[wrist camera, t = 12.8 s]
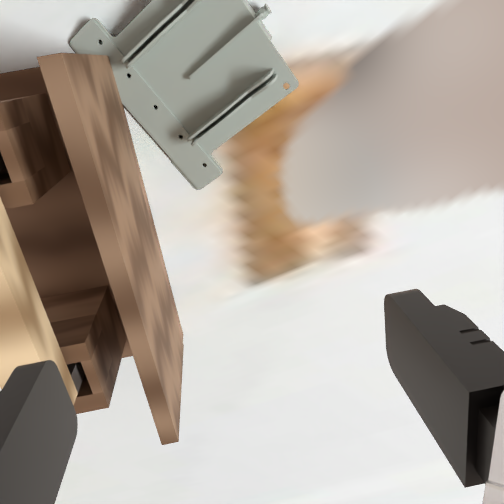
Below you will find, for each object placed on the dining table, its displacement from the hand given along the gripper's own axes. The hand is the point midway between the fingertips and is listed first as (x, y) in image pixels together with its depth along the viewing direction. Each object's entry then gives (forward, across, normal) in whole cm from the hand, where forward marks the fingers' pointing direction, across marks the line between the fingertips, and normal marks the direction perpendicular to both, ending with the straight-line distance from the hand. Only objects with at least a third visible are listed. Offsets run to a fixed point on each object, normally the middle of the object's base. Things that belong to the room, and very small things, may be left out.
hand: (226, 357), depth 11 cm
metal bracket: (+31, 0, -6) cm, 31 cm away
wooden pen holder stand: (+30, +12, +5) cm, 33 cm away
